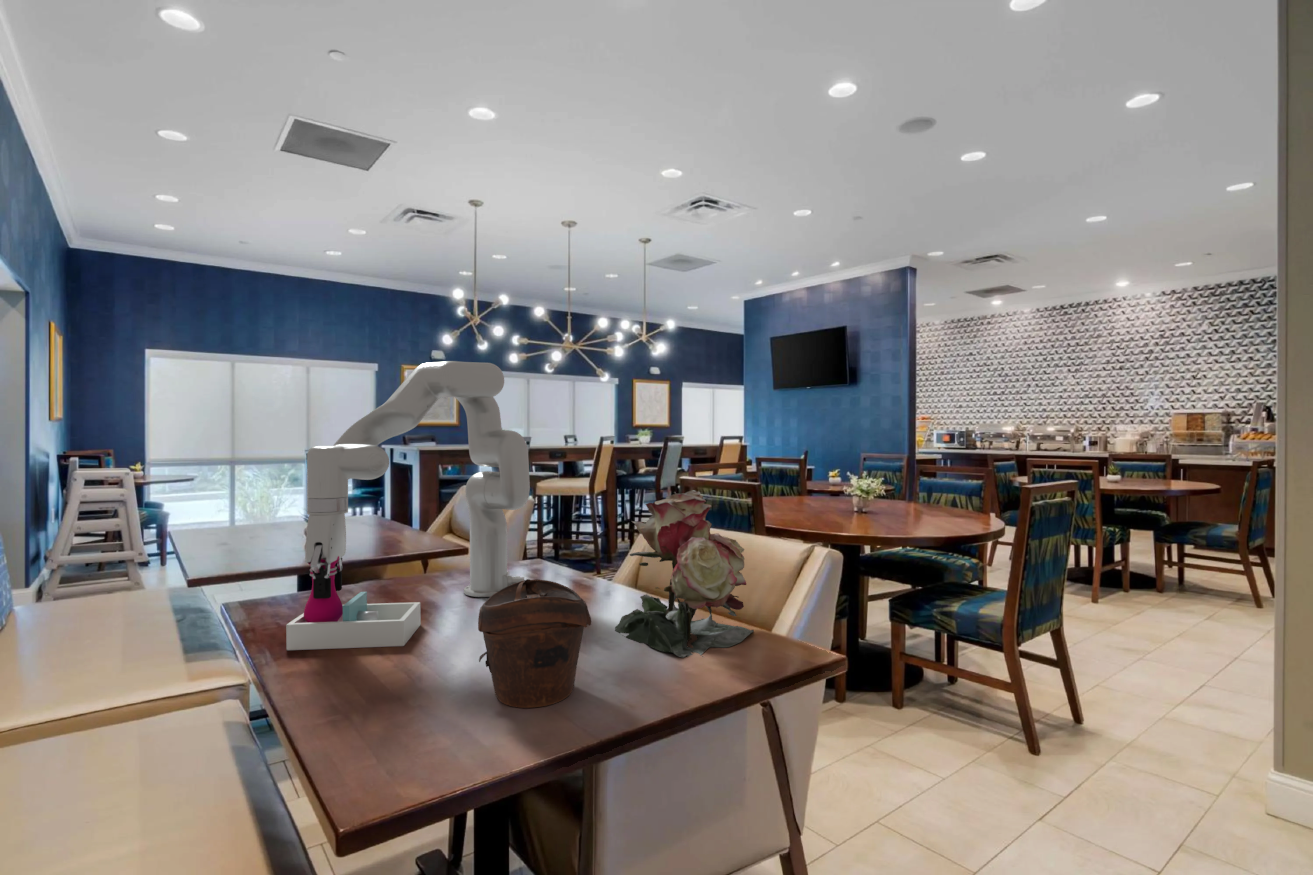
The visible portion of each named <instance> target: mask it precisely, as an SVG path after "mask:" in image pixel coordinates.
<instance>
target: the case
mask: <svg viewBox="0 0 1313 875" xmlns="http://www.w3.org/2000/svg"><path fill="white" fill-rule="evenodd" d="M478 611H479V612H478V619H477V620H478V621H477V622H478V623H477V626H478V627H477V629H478V631H479V632H480V633H482V635H483V640H484V645H485V650H486V651H485V652H484V653H482V654H481V655H480V656H479V658H478V662H479V663H480V662H481V660H482V659H483V658H484V657H485V656H486V660H485V666H486V668H488V669H489V673H490V675H491V679H492V680H491V681H492V684H493V690H494V695H495V697H496V698H497V700H498V701H500V703H502V704H503V705H506V706H508V707H514V708H519V709H520V708H523V709H533V708H541V707H546V706H551V705H553V704H556V703H559V702H562V701H563V700H565V699H566V698H567V697H569V696H570V695H571V694H572V692H573V689H574V688H575V682H576V681H575V680H576V674H577V666H578V662H579V656H580V651H581V645H582V641H583V640H582V638H583V634H584V628H587V627H588V626H591V625H592V617H591V615H590V612H589V607H588V604H587V603H586V601H585V600H584V599H583V598H582V597H581V596H580V595H579V594H578V593H577V591H575V590H573V589H572V588H570V587H568V586H565V585H563V584H561V583H558V582H556V581H552V580H547V579H539V578H536V579H529V578H528V579H527V578H526V579H524V581H521V582H518V583H515V584H512V585H510V586H507V587H505V588H503V589H501V590H500V591H498V592H497V593H495V594H493V595H492V596H491V597H488V599H487V600H485V601H484V603H482V605H481V606H480V609H479V610H478Z"/></svg>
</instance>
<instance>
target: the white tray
mask: <svg viewBox="0 0 1313 875" xmlns="http://www.w3.org/2000/svg"><path fill="white" fill-rule="evenodd" d="M343 605H344V604H342V606H343ZM367 611H378V620H370V621H343V614H342V616H341V617H340V619H339V620H338V622H311V623H308V622H307V621H306V620H305V619H304V612H303V613H302V614H300V615H298V616H297V617H296V618H294V619H292V620H291V621H290V622H288V623H287V624H286V625H285V626H286V628H285V630H286V632H285V633H286V634H285V636H286V643H285V644H286V651H302V650H303V651H305V650H306V651H307V650H328V649H329V650H331V649H353V648H354V649H355V648H381V647H383V648H384V647H404V646H405V645H406V644H407V643H408V642H409V640H410V639H411V638H412V636H413V635H414V634H415V632H416V631H417V630H418V629H419V628H420V627H421V602H420V601H418V602H415V601H413V602H388V603H386V602H383V603H381V602H379V603H367Z"/></svg>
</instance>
